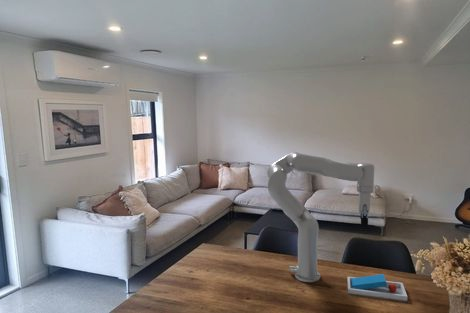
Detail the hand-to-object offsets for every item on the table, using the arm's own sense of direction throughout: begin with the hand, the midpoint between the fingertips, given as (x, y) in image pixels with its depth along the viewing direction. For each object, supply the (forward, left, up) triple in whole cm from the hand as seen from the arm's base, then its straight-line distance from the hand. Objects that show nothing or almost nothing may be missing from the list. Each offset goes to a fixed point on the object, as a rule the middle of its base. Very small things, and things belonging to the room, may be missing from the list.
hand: (364, 222), depth 163 cm
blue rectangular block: (+4, -15, -27) cm, 31 cm away
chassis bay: (+4, -15, -27) cm, 31 cm away
